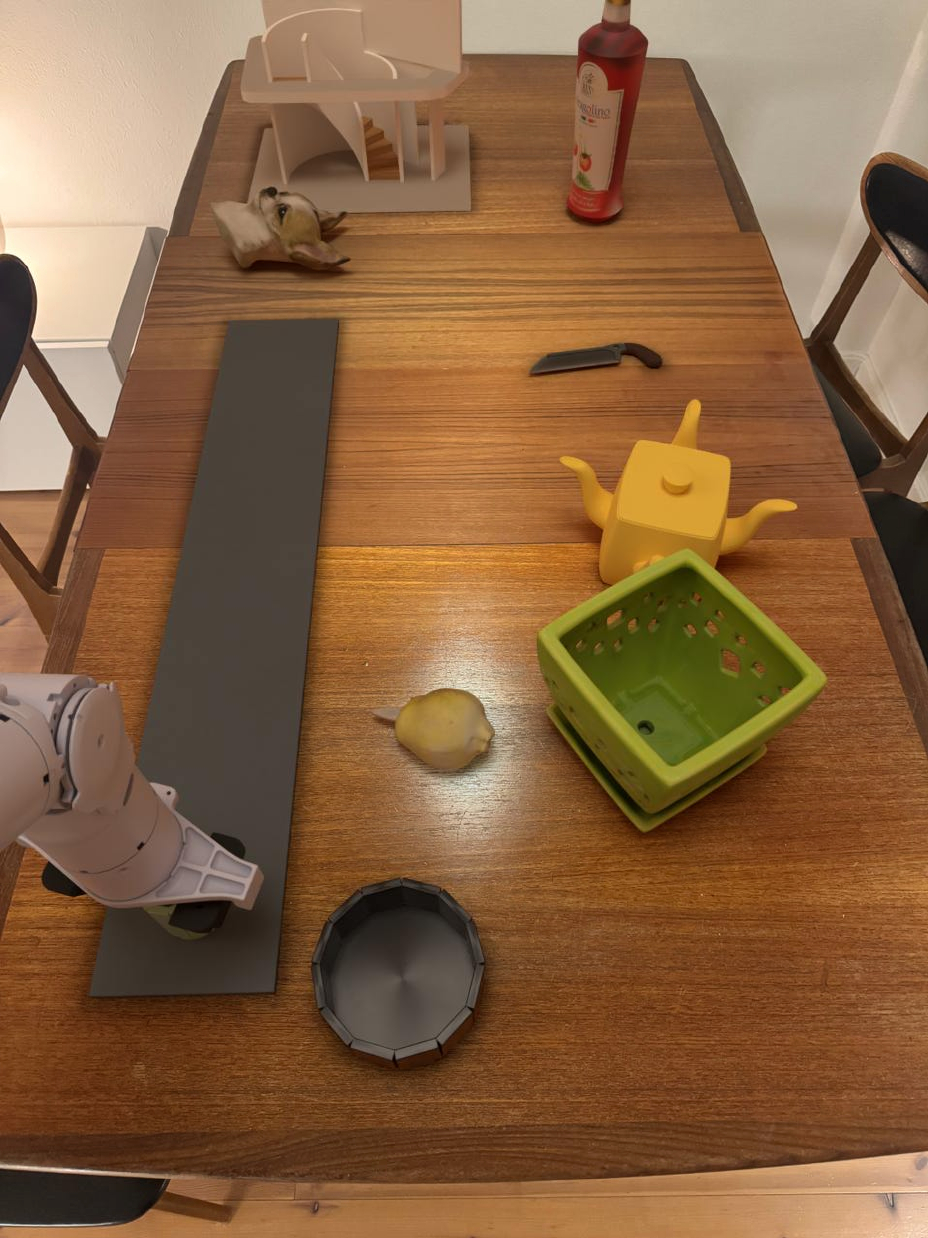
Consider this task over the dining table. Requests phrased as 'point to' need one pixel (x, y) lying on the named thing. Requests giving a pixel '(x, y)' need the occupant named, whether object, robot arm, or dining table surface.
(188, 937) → the small pot
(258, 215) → the ceramic sculpture
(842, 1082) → the dining table surface
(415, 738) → the fruit
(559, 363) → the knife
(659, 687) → the flower pot
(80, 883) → the robot arm
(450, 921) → the large pot
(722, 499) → the teapot
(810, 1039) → the dining table surface
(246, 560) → the mat
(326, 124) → the architectural model
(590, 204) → the liquor
